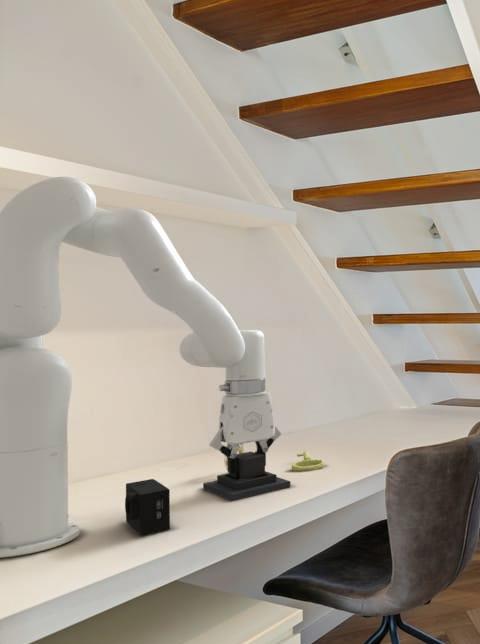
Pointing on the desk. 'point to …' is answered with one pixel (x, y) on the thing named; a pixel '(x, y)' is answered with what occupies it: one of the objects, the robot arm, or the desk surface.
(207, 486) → the base pad
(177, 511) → the desk surface
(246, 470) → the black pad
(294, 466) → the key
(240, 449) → the ring
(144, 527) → the digital camera
